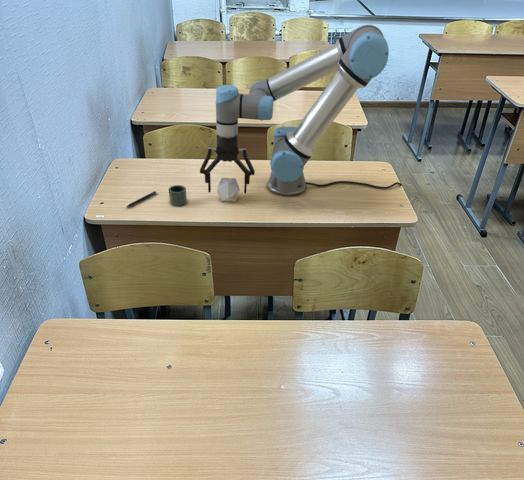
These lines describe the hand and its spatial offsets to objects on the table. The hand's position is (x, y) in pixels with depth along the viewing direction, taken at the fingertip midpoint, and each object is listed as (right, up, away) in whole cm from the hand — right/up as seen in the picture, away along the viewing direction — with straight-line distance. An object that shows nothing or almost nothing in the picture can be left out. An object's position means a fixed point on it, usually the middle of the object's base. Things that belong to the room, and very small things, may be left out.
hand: (227, 191), depth 193 cm
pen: (-33, -4, 0) cm, 33 cm away
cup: (-19, -4, -1) cm, 19 cm away
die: (0, -3, +2) cm, 4 cm away
